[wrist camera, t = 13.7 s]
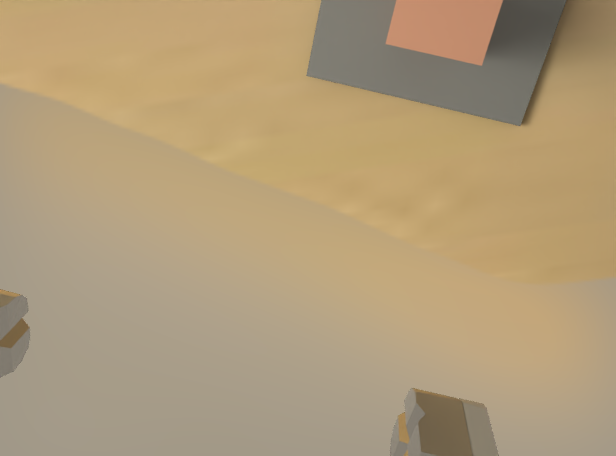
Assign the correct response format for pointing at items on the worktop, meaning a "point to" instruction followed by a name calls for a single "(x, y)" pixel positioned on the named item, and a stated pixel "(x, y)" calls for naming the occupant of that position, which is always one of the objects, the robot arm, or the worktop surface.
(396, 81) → the mat
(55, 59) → the worktop surface
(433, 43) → the stub
